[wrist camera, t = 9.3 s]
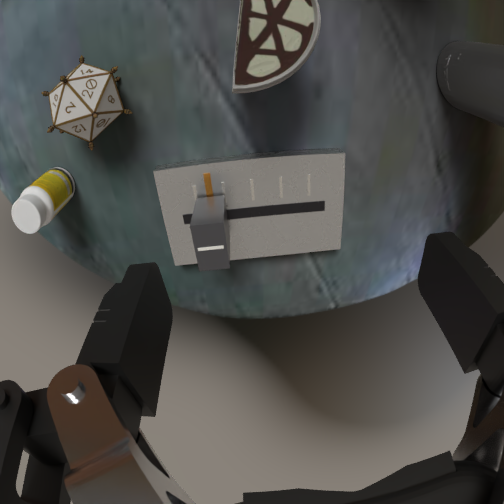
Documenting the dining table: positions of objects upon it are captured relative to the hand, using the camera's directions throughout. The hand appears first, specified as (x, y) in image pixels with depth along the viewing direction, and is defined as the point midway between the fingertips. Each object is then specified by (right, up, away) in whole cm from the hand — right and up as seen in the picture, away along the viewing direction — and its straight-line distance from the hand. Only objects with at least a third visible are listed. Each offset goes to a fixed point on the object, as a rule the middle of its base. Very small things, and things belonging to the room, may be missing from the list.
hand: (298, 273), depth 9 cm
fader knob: (-5, +4, +25) cm, 26 cm away
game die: (-17, +17, +19) cm, 31 cm away
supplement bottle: (-25, +9, +24) cm, 36 cm away
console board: (-1, +6, +27) cm, 28 cm away
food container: (0, +22, +17) cm, 28 cm away
